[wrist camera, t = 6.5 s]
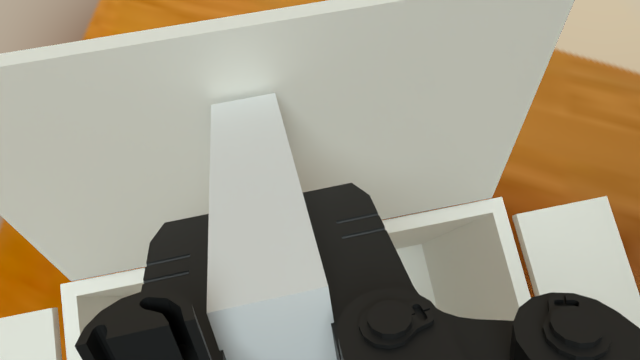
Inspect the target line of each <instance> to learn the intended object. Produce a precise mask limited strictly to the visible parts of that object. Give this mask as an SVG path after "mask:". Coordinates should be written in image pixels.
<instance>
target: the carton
mask: <svg viewBox="0 0 640 360" xmlns="http://www.w3.org/2000/svg"><path fill="white" fill-rule="evenodd" d="M512 218H513V222H514V225H515V228H516V232H517V235H518V239H519V242H520V246H521V249H522V253H523V256H524V260H525V263H526V267H527V270H528V274H529V277H530V281H531V284H532V288H533V291H534V295H535V297H536V296H539V295H543V294H547V293H551V292H556V293H575V294H578V295H582V296H585V297H589V298H592V299H596V300H598V301H600V302H602V303H603V304H605V305H607V306H609V307H610V308H612V309H614V310H616V311H617V312H619V313H620V314H622V315H623V316H624V317H626V318H627V319H628V320H630V321H631V322H632V323H634V324H635V325H636V326H638V327H639V328H640V295H639V292H638V289H637V286H636V283H635V280H634V277H633V274H632V271H631V268H630V265H629V262H628V259H627V256H626V253H625V250H624V247H623V244H622V241H621V238H620V235H619V232H618V229H617V226H616V222H615V219H614V216H613V213H612V210H611V207H610V204H609V201H608V198H607V196H605V197H600V198H595V199H590V200H585V201H580V202H575V203H570V204H565V205H560V206H555V207H550V208H545V209H540V210H535V211H530V212H525V213H520V214H516V215H513V216H512ZM382 222H383V224H384V226H385V230H387V232H388V234H389V236H390V239H391V241H392V243H393V245H394V247H395V249H396V251H397V253H398V255H399V257H400V259H401V261H402V263H403V265H404V267H405V270H406V272H407V274H408V276H409V278H410V280H411V282H412V284H413V286H414V288H415V289H416V291H417V292H418V294H419V295H421V296H423V297H425V298H426V299H428V300H430V301H431V302H432V303H433V305H434V306H435V307H436V308H437V309H439V310H441V311H442V312H445V313H448V314H451V315H454V316H457V317H463V318H471V319H485V320H509V321H514V318H515V316H516V313H517V311H518V308H519V307H520V306H522V305H523V304H524V303H526V302H527V301H528V300H529V299H531V297H530V293H529V290H528V286H527V283H526V279H525V276H524V272H523V269H522V265H521V262H520V258H519V255H518V251H517V248H516V244H515V241H514V237H513V234H512V230H511V227H510V223H509V220H508V216H507V213H506V209H505V206H504V202H503V199H502V197H498V198H493V199H488V200H483V201H478V202H473V203H468V204H463V205H458V206H453V207H448V208H443V209H438V210H432V211H427V212H422V213H417V214H412V215H407V216H402V217H397V218H392V219H387V220H382ZM144 272H145V268H140V269H135V270H130V271H125V272H120V273H115V274H110V275H105V276H100V277H95V278H90V279H85V280H80V281H75V282H70V283H65V284H60V288H61V299H62V310H63V321H64V332H65V343H66V354H67V360H82V358H81V357H80V355H79V353H78V351H77V350H76V348H75V344H76V342H77V340H78V338H79V336H80V335H81V333H82V331H83V329H84V327H85V326H86V325H87V324H88V323H89V322H90V321H91V320H92V319H93V318H94V317H95V316H96V315H97V314H98V313H99V312H100V311H102V310H103V309H105V308H106V307H108V306H110V305H111V304H113V303H115V302H116V301H118V300H119V299H121V298H124V297H127V296H130V295H133V294H136V293H139V292H141V289H142V285H143V284H144V282H143V278H144ZM0 360H62V354H61V342H60V331H59V320H58V308H49V309H44V310H39V311H34V312H29V313H24V314H19V315H15V316H10V317H5V318H0Z"/></svg>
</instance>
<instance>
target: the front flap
mask: <svg viewBox="0 0 640 360" xmlns="http://www.w3.org/2000/svg"><path fill="white" fill-rule="evenodd" d="M574 1H575V0H328V1H322V2H316V3H310V4H304V5H298V6H291V7H285V8H279V9H273V10H267V11H261V12H255V13H248V14H242V15H236V16H230V17H224V18H218V19H212V20H205V21H199V22H193V23H187V24H181V25H175V26H168V27H162V28H156V29H150V30H144V31H138V32H132V33H125V34H119V35H113V36H107V37H101V38H95V39H89V40H82V41H77V42H70V43H64V44H58V45H52V46H46V47H40V48H33V49H27V50H21V51H15V52H9V53H3V54H0V215H1V216H2V217H3V218H4V219H5V220H6V221H7V222H8V223H9V224H10V225H11V226H13V227H14V228H15V229H16V230H17V231H18V232H19V233H20V234H21V235H22V236H23V237H24V238H25V239H26V240H28V241H29V242H30V243H31V244H32V245H33V246H34V247H35V248H36V249H37V250H38V251H39V252H40V253H41V254H43V255H44V256H45V257H46V258H47V259H48V260H49V261H50V262H51V263H52V264H53V265H54V266H55V267H56V268H58V269H59V270H60V271H61V272H62V273H63V274H64V275H65V276H66V277H67V278H68V279H69V280H70V281H75V280H80V279H85V278H90V277H95V276H100V275H105V274H111V273H116V272H121V271H126V270H131V269H136V268H141V267H146V266H147V264H146V261H147V255H148V250H149V244H150V242H151V240H152V239H153V237H154V236H155V235H156V233H157V232H158V231H159V229H160V228H161V227H162V225H163V224H164V223H166V222H170V221H175V220H180V219H185V218H190V217H195V216H200V215H205V214H209V176H210V131H211V105H213V104H218V103H223V102H229V101H234V100H239V99H245V98H250V97H256V96H261V95H266V94H272V93H275V95H276V98H277V102H278V105H279V109H280V113H281V116H282V120H283V124H284V127H285V131H286V134H287V138H288V142H289V145H290V149H291V153H292V156H293V160H294V164H295V167H296V171H297V174H298V178H299V182H300V185H301V189H302V193H303V192H308V191H313V190H318V189H323V188H328V187H333V186H337V185H342V184H347V183H353V184H354V185H356V186H357V187H359V188H360V189H362V190H363V191H364V192H366V193H367V194H369V195H370V197H371V199H372V201H373V203H374V205H375V208H376V210H377V212H378V216H380V218H381V220H383V219H388V218H393V217H398V216H403V215H408V214H413V213H418V212H423V211H428V210H433V209H438V208H443V207H448V206H453V205H459V204H464V203H469V202H474V201H479V200H484V199H489V198H492V196H493V194H494V192H495V189H496V187H497V184H498V182H499V180H500V177H501V175H502V172H503V170H504V168H505V165H506V163H507V161H508V158H509V156H510V153H511V151H512V149H513V146H514V144H515V141H516V139H517V137H518V134H519V132H520V130H521V127H522V125H523V122H524V120H525V118H526V115H527V113H528V110H529V108H530V106H531V103H532V101H533V99H534V96H535V94H536V91H537V89H538V87H539V84H540V82H541V79H542V77H543V75H544V72H545V70H546V67H547V65H548V63H549V60H550V58H551V56H552V53H553V51H554V48H555V46H556V43H557V41H558V39H559V36H560V34H561V32H562V29H563V27H564V25H565V22H566V20H567V17H568V15H569V12H570V10H571V8H572V5H573V3H574Z"/></svg>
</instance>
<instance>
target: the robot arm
mask: <svg viewBox="0 0 640 360" xmlns="http://www.w3.org/2000/svg"><path fill="white" fill-rule="evenodd" d="M146 264H147V267H145V272H144V278H143V282H144V284H143V285H142V289H141V292H139V293H136V294H133V295H130V296H127V297H124V298H121V299H119V300H118V301H116V302H115V303H113V304H111V305H110V306H108V307H106V308H105V309H103V310H102V311H100V312H99V313H98V314H97V315H96V316H95V317H94V318H93V319H92V320H91V321H90V322H89V323H88V324H87V325H86V326H85V327H84V329H83V331H82V333H81V335H80V336H79V338H78V340H77V342H76V344H75V348H76V350H77V351H78V353H79V355H80V357H81V358H82V360H640V328H639V327H638V326H636V325H635V324H634V323H632V322H631V321H630V320H628V319H627V318H626V317H624V316H623V315H622V314H620V313H619V312H617V311H616V310H614V309H612V308H610V307H609V306H607V305H605V304H603V303H602V302H600V301H598V300H596V299H592V298H589V297H585V296H582V295H578V294H575V293H556V292H551V293H547V294H543V295H539V296H536V297H532V298H531V299H529V300H528V301H527V302H526V303H524V304H523V305H522V306H520V307H519V308H518V311H517V313H516V316H515V318H514V321H509V320H485V319H471V318H463V317H457V316H454V315H451V314H448V313H445V312H442V311H441V310H439V309H437V308H436V307H435V306H434V305H433V303H432V302H431V301H430V300H428V299H426V298H425V297H423V296H421V295H419V294H418V292H417V291H416V289H415V288H414V286H413V284H412V282H411V280H410V278H409V276H408V274H407V272H406V270H405V267H404V265H403V263H402V261H401V259H400V257H399V255H398V253H397V251H396V249H395V247H394V245H393V243H392V241H391V239H390V236H389V234H388V232H387V230H385V226H384V224H383V222H382V220H381V218H380V216H378V212H377V210H376V208H375V205H374V203H373V201H372V199H371V197H370V195H369V194H367V193H366V192H364V191H363V190H362V189H360V188H359V187H357V186H356V185H354V184H353V183H347V184H342V185H337V186H333V187H328V188H323V189H318V190H313V191H308V192H303V193H302V189H301V185H300V182H299V178H298V174H297V171H296V167H295V164H294V160H293V156H292V153H291V149H290V145H289V142H288V138H287V134H286V131H285V127H284V124H283V120H282V116H281V113H280V109H279V105H278V102H277V98H276V95H275V93H272V94H266V95H261V96H256V97H250V98H245V99H239V100H234V101H229V102H223V103H218V104H213V105H211V131H210V176H209V214H205V215H200V216H195V217H190V218H185V219H180V220H175V221H170V222H166V223H164V224H163V225H162V227H161V228H160V229H159V231H158V232H157V233H156V235H155V236H154V237H153V239H152V240H151V242H150V244H149V250H148V255H147V261H146Z"/></svg>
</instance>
